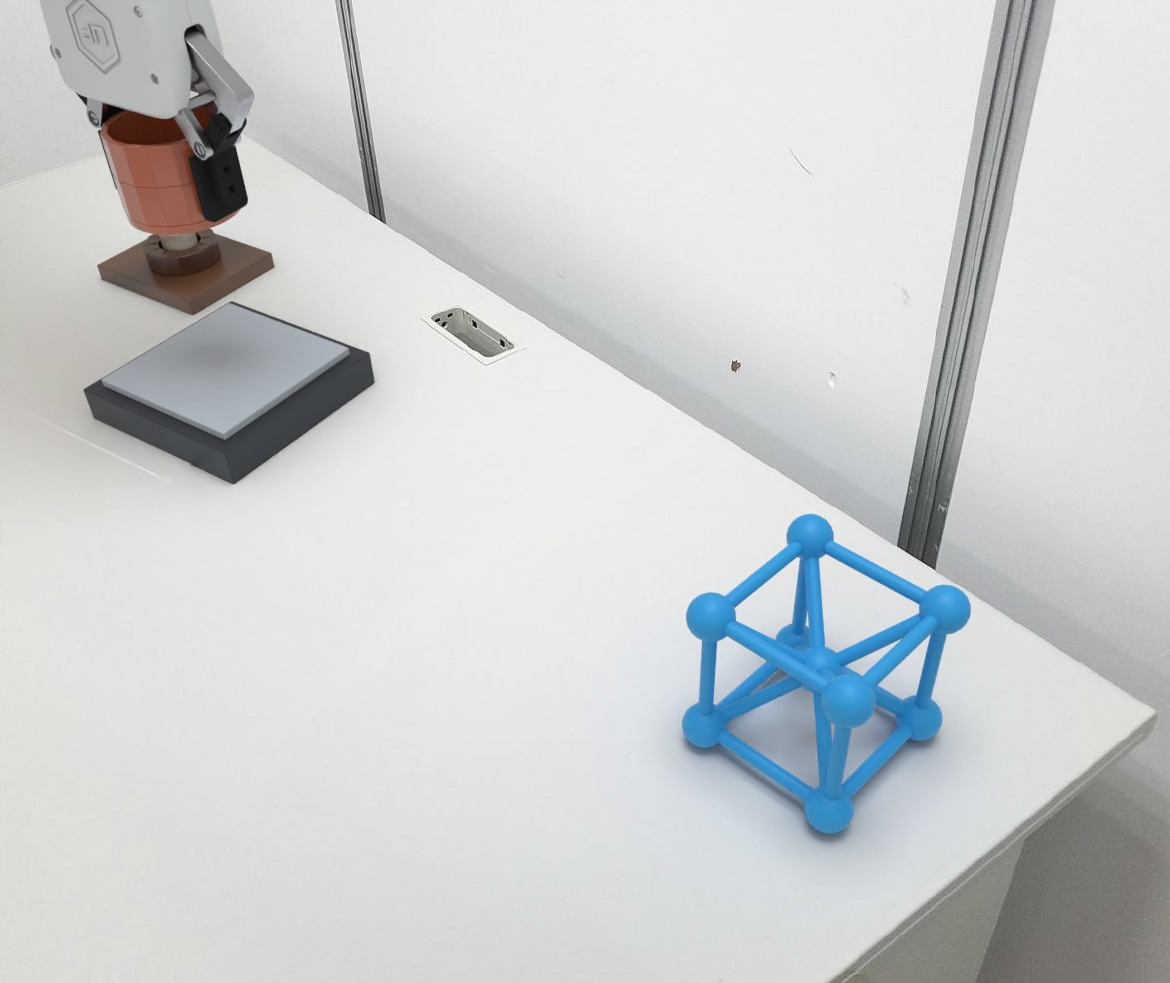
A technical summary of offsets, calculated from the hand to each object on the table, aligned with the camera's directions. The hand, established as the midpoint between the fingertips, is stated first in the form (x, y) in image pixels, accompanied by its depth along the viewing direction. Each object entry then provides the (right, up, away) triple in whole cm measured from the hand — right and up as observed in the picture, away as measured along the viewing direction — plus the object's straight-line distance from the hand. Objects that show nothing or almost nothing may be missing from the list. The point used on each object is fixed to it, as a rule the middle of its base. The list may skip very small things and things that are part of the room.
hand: (181, 196), depth 75 cm
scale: (0, -11, +10) cm, 15 cm away
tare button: (-8, +3, +22) cm, 24 cm away
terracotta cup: (0, -1, +1) cm, 1 cm away
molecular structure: (+37, -32, -13) cm, 51 cm away
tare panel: (-8, +1, +24) cm, 25 cm away
